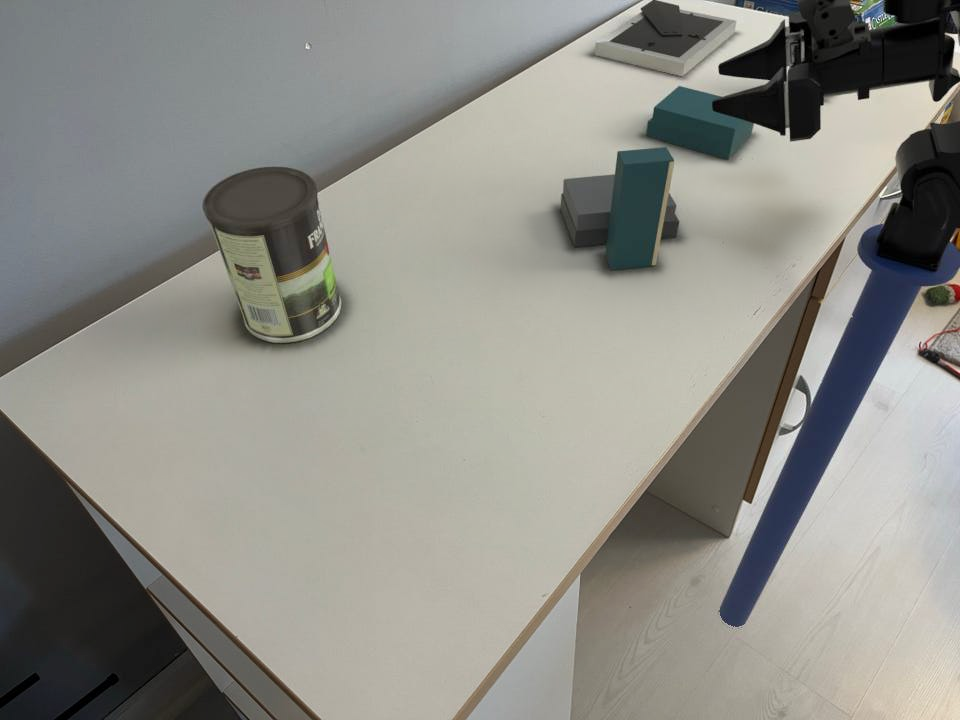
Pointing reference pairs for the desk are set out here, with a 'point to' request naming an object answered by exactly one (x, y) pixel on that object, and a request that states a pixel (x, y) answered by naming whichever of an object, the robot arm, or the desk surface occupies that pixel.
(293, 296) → the coffee can
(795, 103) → the robot arm
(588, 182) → the grey books
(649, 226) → the teal book
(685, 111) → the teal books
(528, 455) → the desk surface
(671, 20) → the picture frame
